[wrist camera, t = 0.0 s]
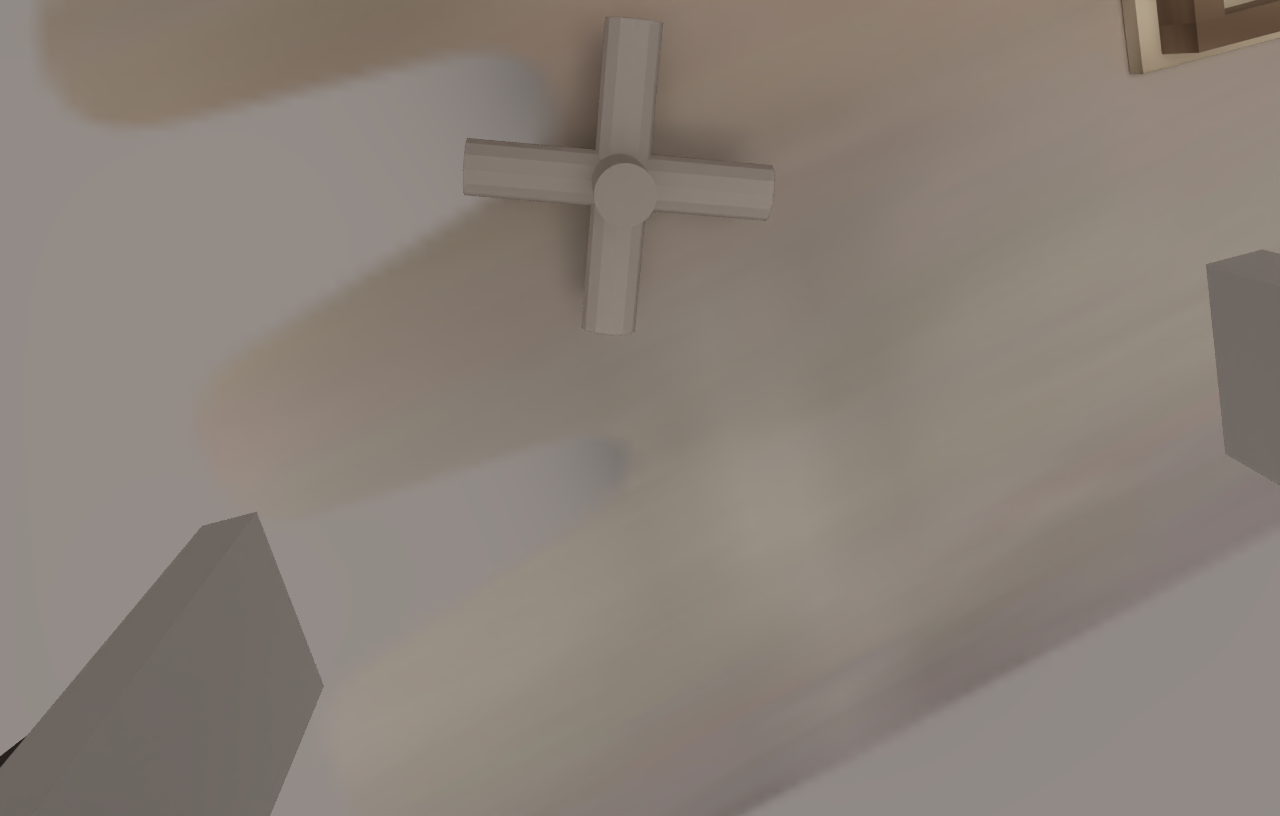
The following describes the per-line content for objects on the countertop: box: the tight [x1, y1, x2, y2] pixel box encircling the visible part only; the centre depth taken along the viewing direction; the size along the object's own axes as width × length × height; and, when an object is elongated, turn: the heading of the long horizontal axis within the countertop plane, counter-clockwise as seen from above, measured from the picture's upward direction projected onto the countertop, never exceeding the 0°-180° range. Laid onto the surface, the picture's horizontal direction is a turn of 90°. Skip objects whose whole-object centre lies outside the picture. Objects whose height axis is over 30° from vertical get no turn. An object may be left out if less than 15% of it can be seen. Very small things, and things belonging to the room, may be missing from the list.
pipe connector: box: [463, 17, 775, 335], centre depth 36 cm, size 10×10×10 cm
